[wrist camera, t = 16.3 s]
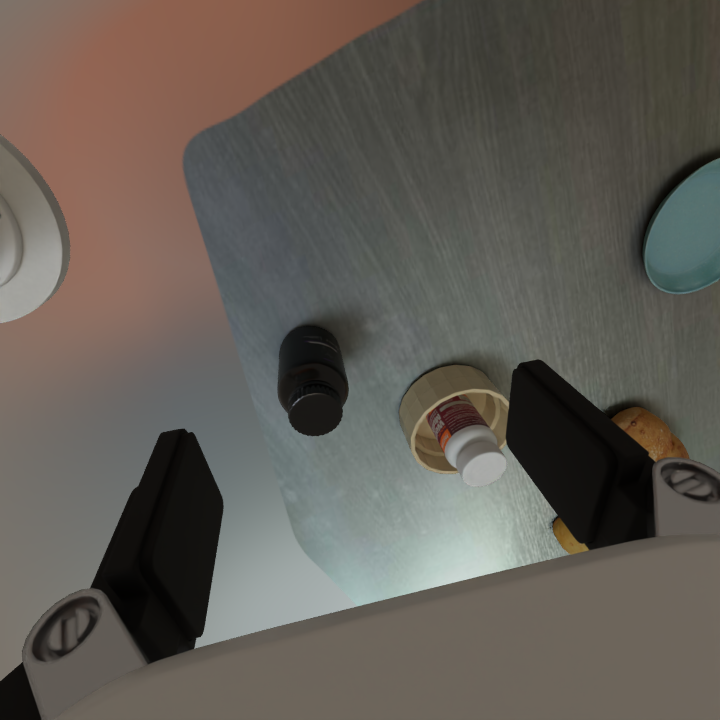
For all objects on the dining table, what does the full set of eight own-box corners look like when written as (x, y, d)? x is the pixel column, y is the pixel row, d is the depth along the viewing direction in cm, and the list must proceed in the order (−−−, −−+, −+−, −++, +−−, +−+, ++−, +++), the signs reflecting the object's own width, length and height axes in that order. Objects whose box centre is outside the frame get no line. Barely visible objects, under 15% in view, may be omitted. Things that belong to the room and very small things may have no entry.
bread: (641, 519, 74) (687, 569, 66) (544, 545, 73) (579, 599, 64) (690, 384, 58) (761, 427, 49) (566, 414, 56) (617, 464, 48)
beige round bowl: (400, 450, 54) (413, 483, 49) (395, 373, 47) (408, 401, 42) (488, 432, 55) (509, 461, 50) (494, 354, 48) (519, 379, 43)
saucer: (766, 133, 40) (795, 133, 38) (732, 265, 48) (755, 271, 46) (634, 177, 40) (655, 179, 38) (621, 302, 48) (638, 310, 46)
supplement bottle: (332, 317, 42) (348, 375, 32) (344, 368, 46) (362, 435, 35) (270, 331, 42) (267, 394, 32) (287, 382, 45) (289, 453, 35)
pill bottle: (419, 397, 49) (452, 461, 39) (464, 381, 49) (508, 440, 39) (429, 431, 52) (462, 497, 43) (471, 415, 52) (514, 478, 43)
